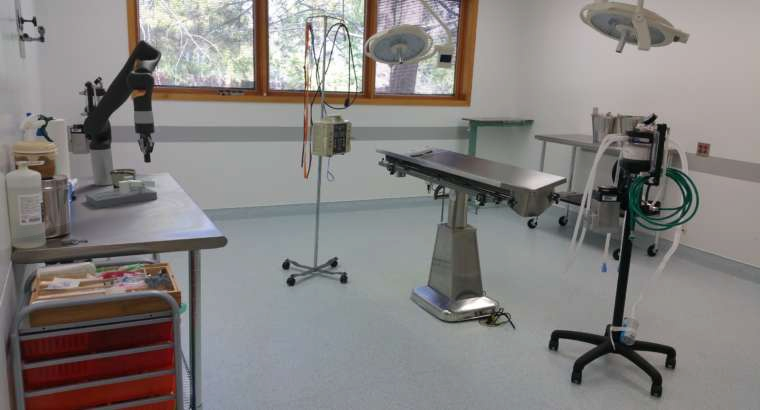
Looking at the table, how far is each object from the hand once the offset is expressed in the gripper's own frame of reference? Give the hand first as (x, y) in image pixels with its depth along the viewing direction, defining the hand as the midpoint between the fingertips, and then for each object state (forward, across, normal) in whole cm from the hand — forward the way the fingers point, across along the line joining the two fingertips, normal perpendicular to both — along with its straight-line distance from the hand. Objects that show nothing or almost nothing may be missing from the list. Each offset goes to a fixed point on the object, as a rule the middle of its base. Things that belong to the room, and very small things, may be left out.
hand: (147, 162), depth 232 cm
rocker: (+9, 0, +4) cm, 9 cm away
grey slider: (+13, +9, +5) cm, 16 cm away
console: (+16, +4, +10) cm, 20 cm away
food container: (+16, +21, +3) cm, 27 cm away
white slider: (+13, 0, +10) cm, 16 cm away
